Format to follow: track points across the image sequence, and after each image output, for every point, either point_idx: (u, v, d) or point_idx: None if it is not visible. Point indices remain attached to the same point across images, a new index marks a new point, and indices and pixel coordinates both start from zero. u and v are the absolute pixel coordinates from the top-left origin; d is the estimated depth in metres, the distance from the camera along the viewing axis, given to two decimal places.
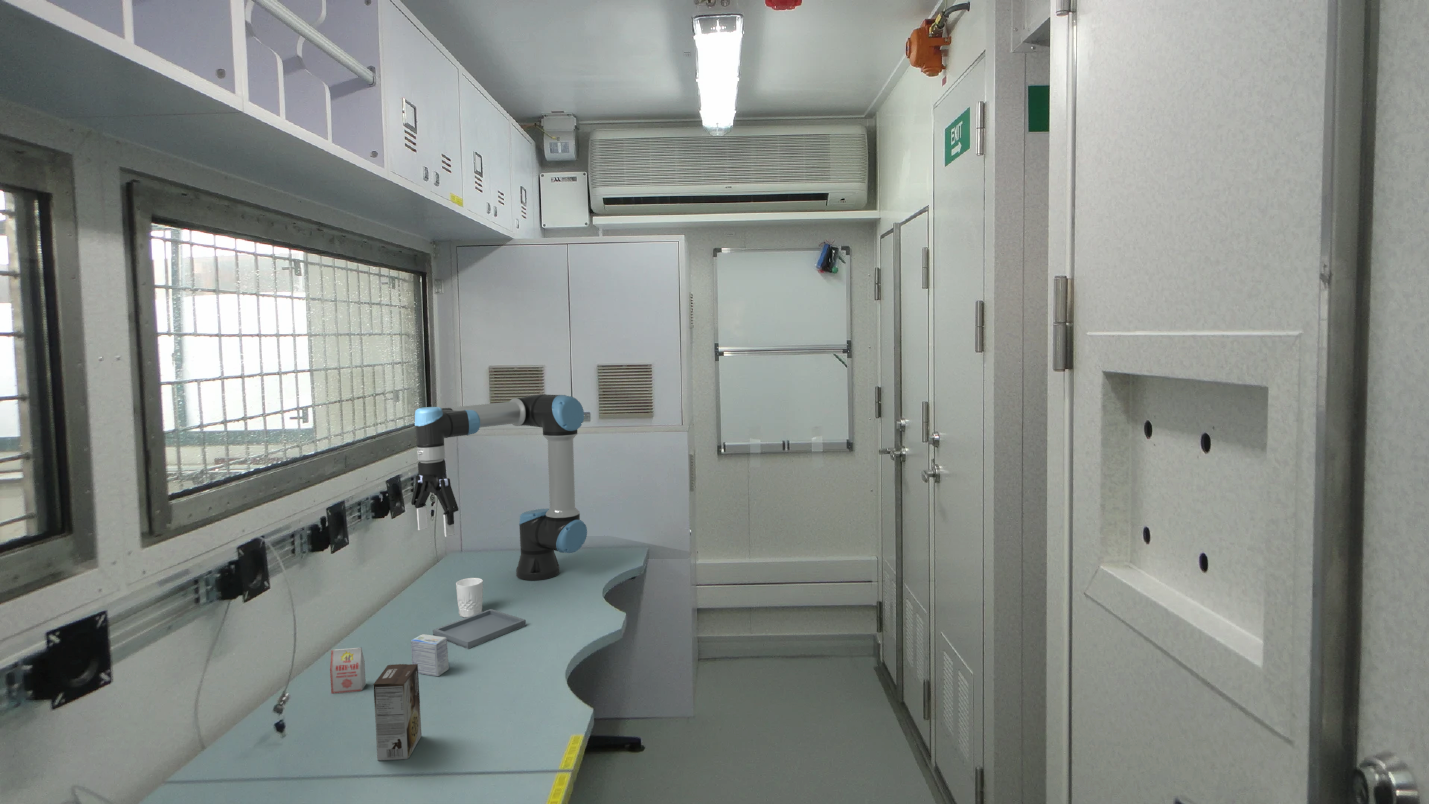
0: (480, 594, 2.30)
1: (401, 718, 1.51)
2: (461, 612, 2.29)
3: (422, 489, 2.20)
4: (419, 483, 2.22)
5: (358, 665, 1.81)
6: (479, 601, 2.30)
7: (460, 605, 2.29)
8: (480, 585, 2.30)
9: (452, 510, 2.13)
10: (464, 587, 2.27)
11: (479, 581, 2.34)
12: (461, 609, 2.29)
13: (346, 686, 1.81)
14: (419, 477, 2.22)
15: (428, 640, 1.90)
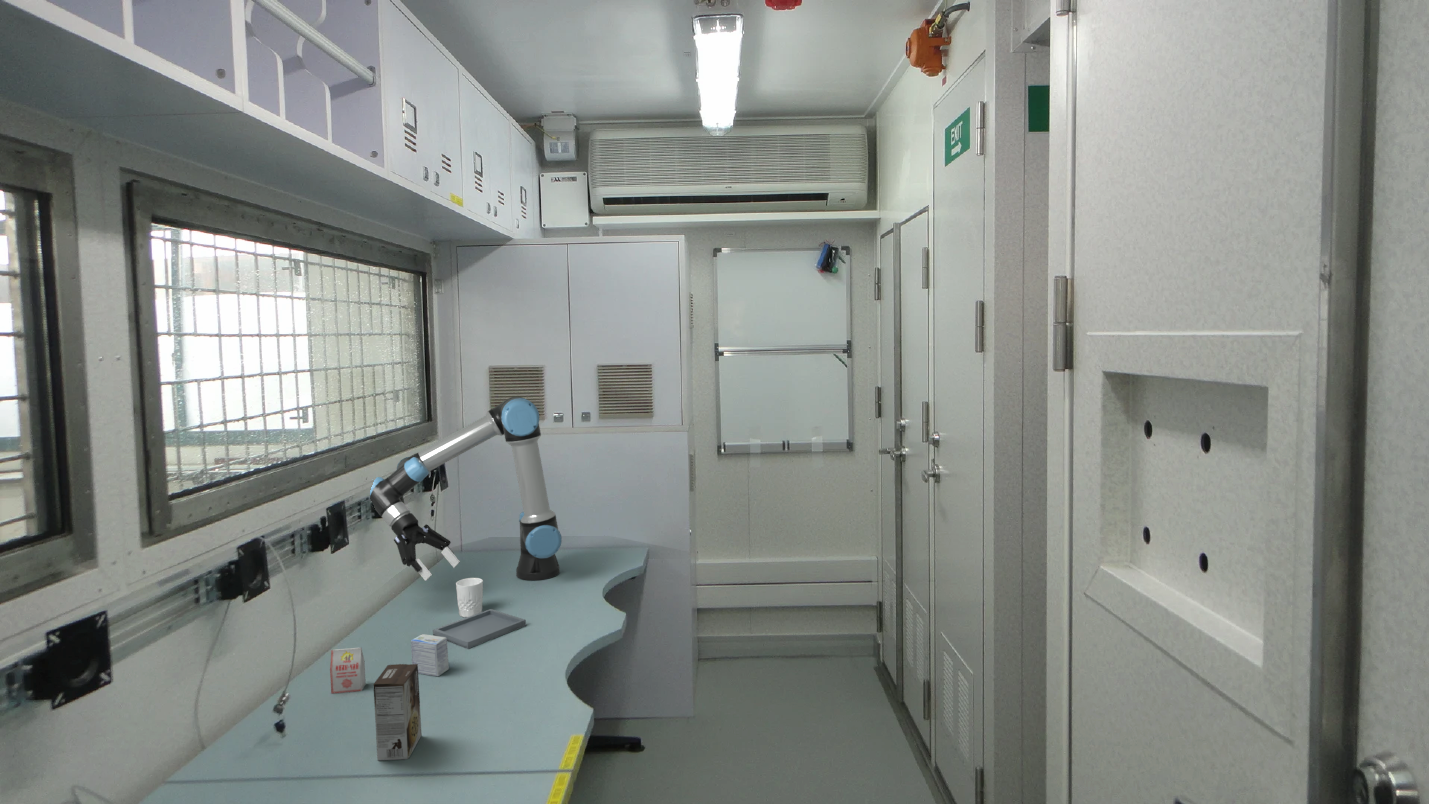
0: (480, 594, 2.30)
1: (401, 718, 1.51)
2: (461, 612, 2.29)
3: None
4: None
5: (358, 665, 1.81)
6: (479, 601, 2.30)
7: (460, 605, 2.29)
8: (480, 585, 2.30)
9: (403, 562, 2.25)
10: (464, 587, 2.27)
11: (479, 581, 2.34)
12: (461, 609, 2.29)
13: (346, 686, 1.81)
14: (422, 530, 2.41)
15: (428, 640, 1.90)
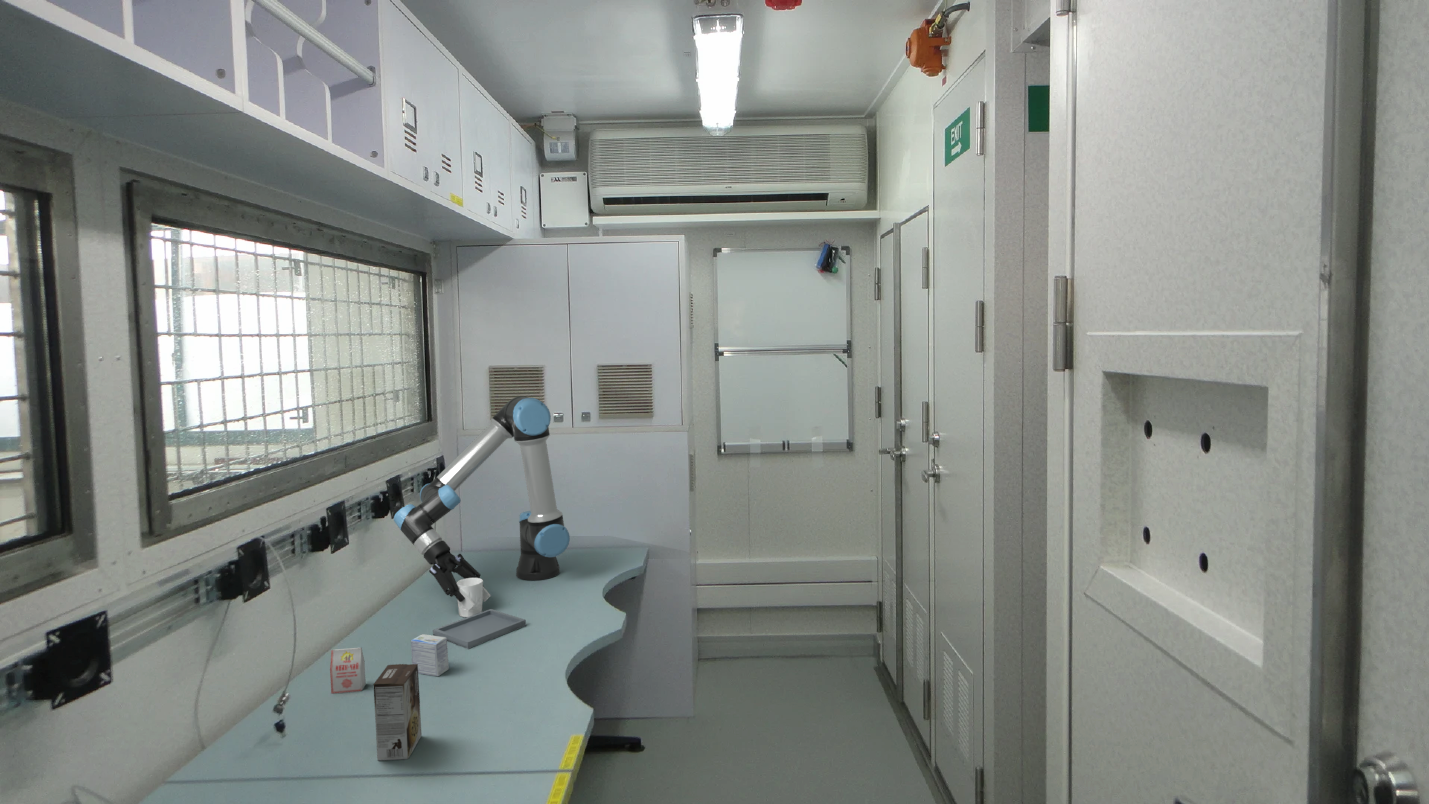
0: (480, 594, 2.30)
1: (401, 718, 1.51)
2: (461, 612, 2.29)
3: None
4: None
5: (358, 665, 1.81)
6: (479, 601, 2.30)
7: (460, 605, 2.29)
8: (480, 585, 2.30)
9: (447, 593, 2.25)
10: (464, 587, 2.27)
11: (479, 581, 2.34)
12: (461, 609, 2.29)
13: (346, 686, 1.81)
14: (455, 558, 2.39)
15: (428, 640, 1.90)
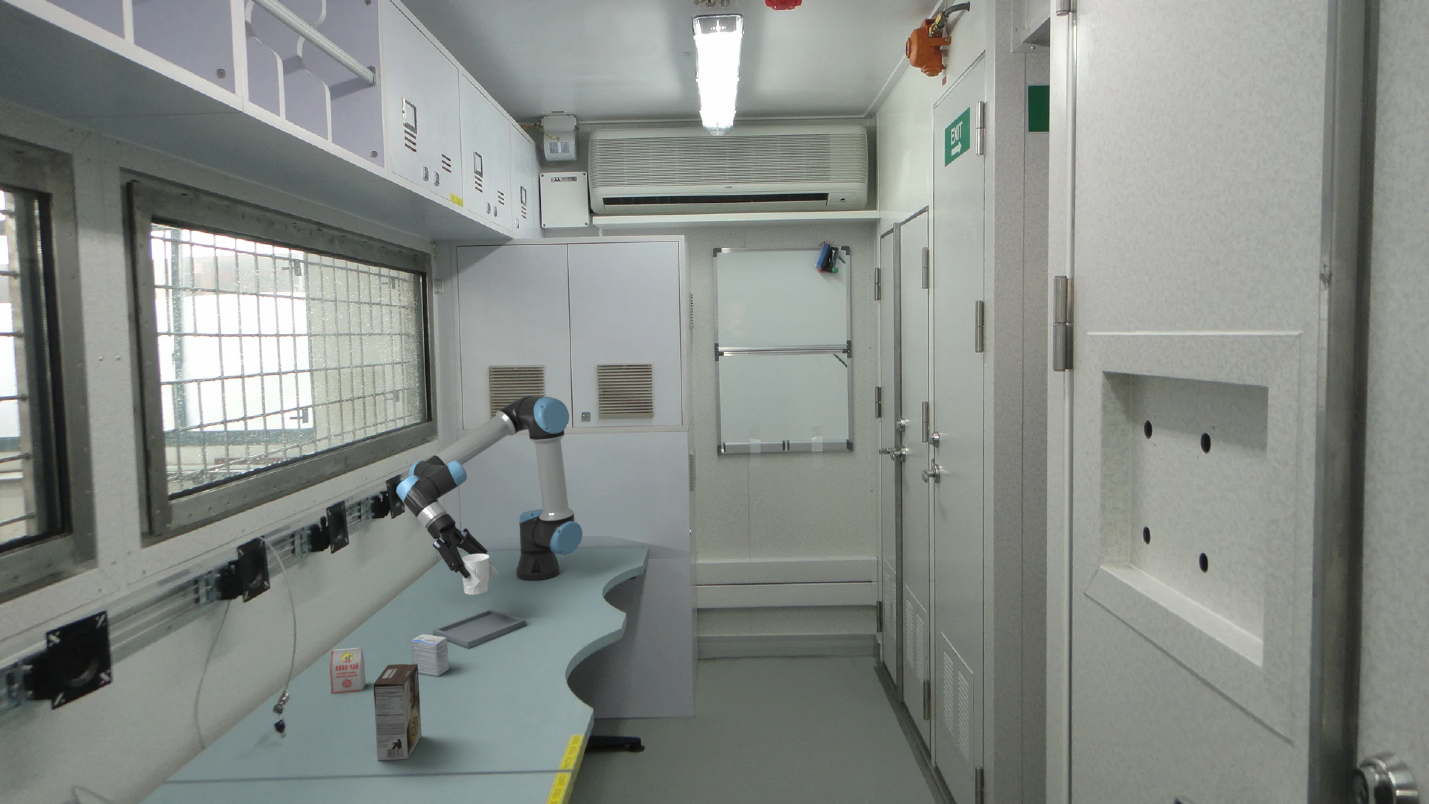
0: (486, 570, 2.17)
1: (401, 718, 1.51)
2: (466, 589, 2.16)
3: None
4: None
5: (358, 665, 1.81)
6: (485, 578, 2.17)
7: (465, 582, 2.16)
8: (486, 561, 2.17)
9: (451, 569, 2.12)
10: (469, 562, 2.14)
11: (485, 557, 2.21)
12: (466, 586, 2.16)
13: (346, 686, 1.81)
14: None
15: (428, 640, 1.90)
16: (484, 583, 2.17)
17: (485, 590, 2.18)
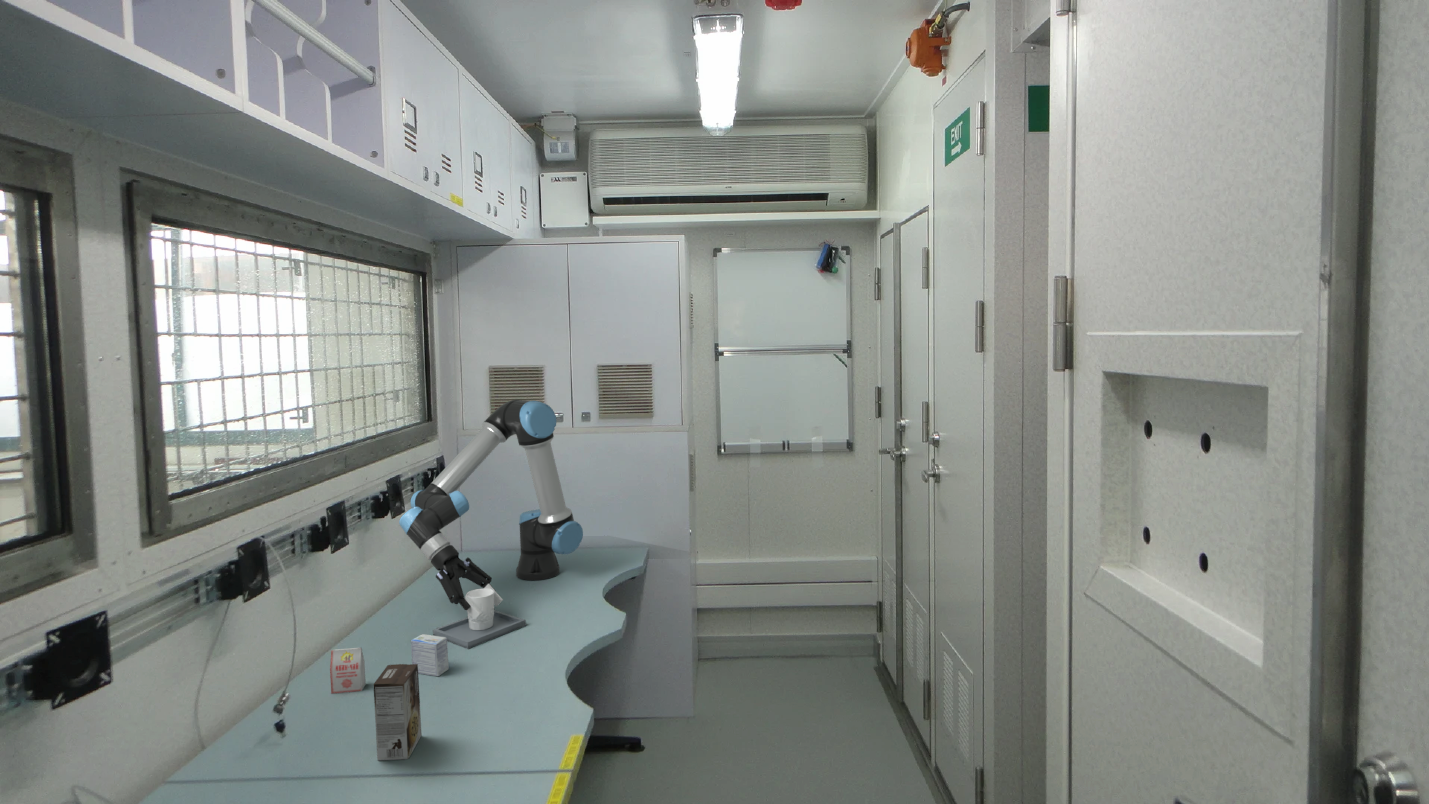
0: (491, 606, 2.18)
1: (401, 718, 1.51)
2: (471, 625, 2.17)
3: None
4: None
5: (358, 665, 1.81)
6: (490, 613, 2.18)
7: (470, 617, 2.17)
8: (491, 596, 2.18)
9: (451, 601, 2.11)
10: (475, 599, 2.15)
11: (490, 592, 2.22)
12: (471, 622, 2.17)
13: (346, 686, 1.81)
14: None
15: (428, 640, 1.90)
16: (489, 618, 2.18)
17: (490, 625, 2.19)
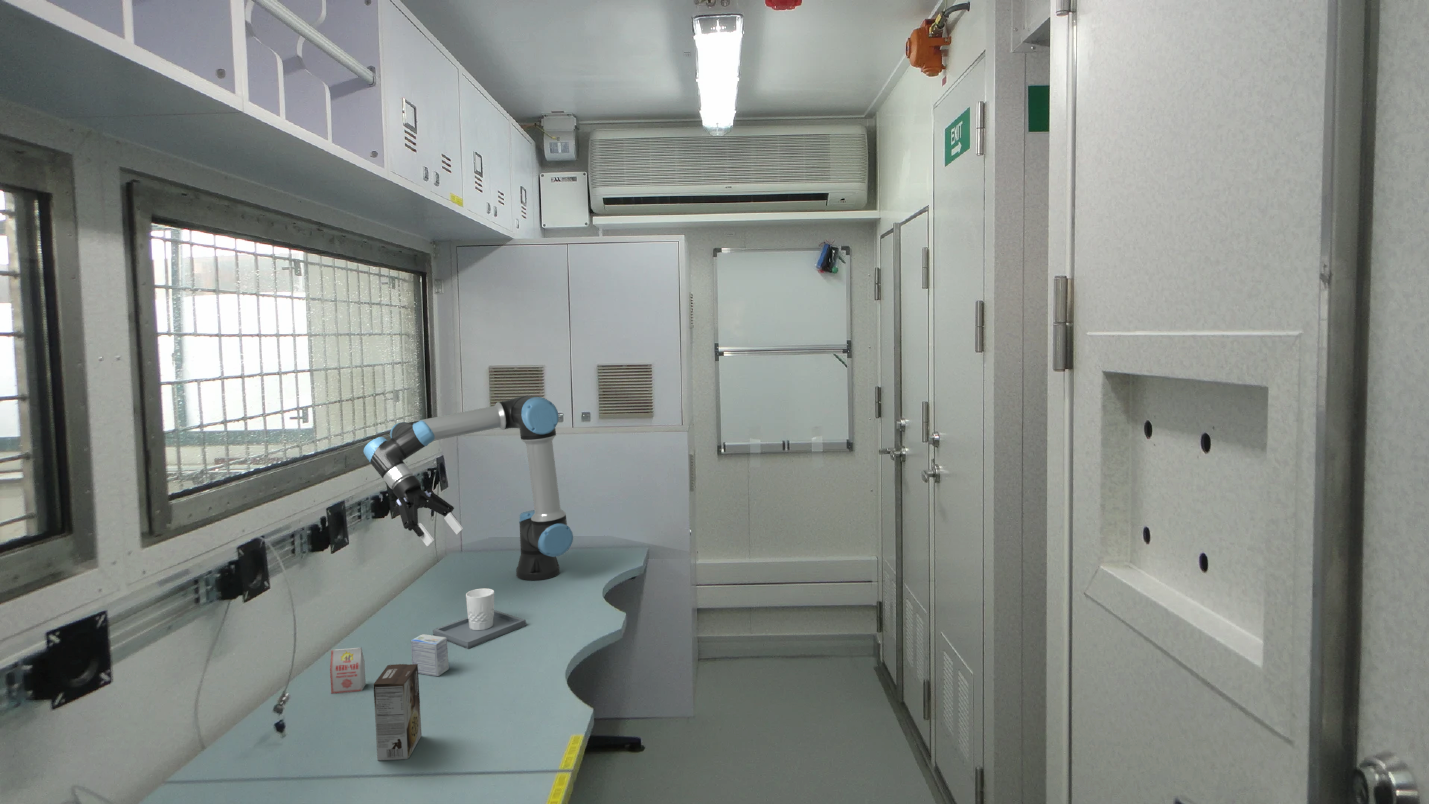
0: (491, 606, 2.18)
1: (401, 718, 1.51)
2: (471, 625, 2.17)
3: None
4: None
5: (358, 665, 1.81)
6: (490, 613, 2.18)
7: (470, 617, 2.17)
8: (491, 596, 2.18)
9: (405, 526, 2.14)
10: (475, 599, 2.15)
11: (490, 592, 2.22)
12: (471, 622, 2.17)
13: (346, 686, 1.81)
14: None
15: (428, 640, 1.90)
16: (489, 618, 2.18)
17: (490, 625, 2.19)
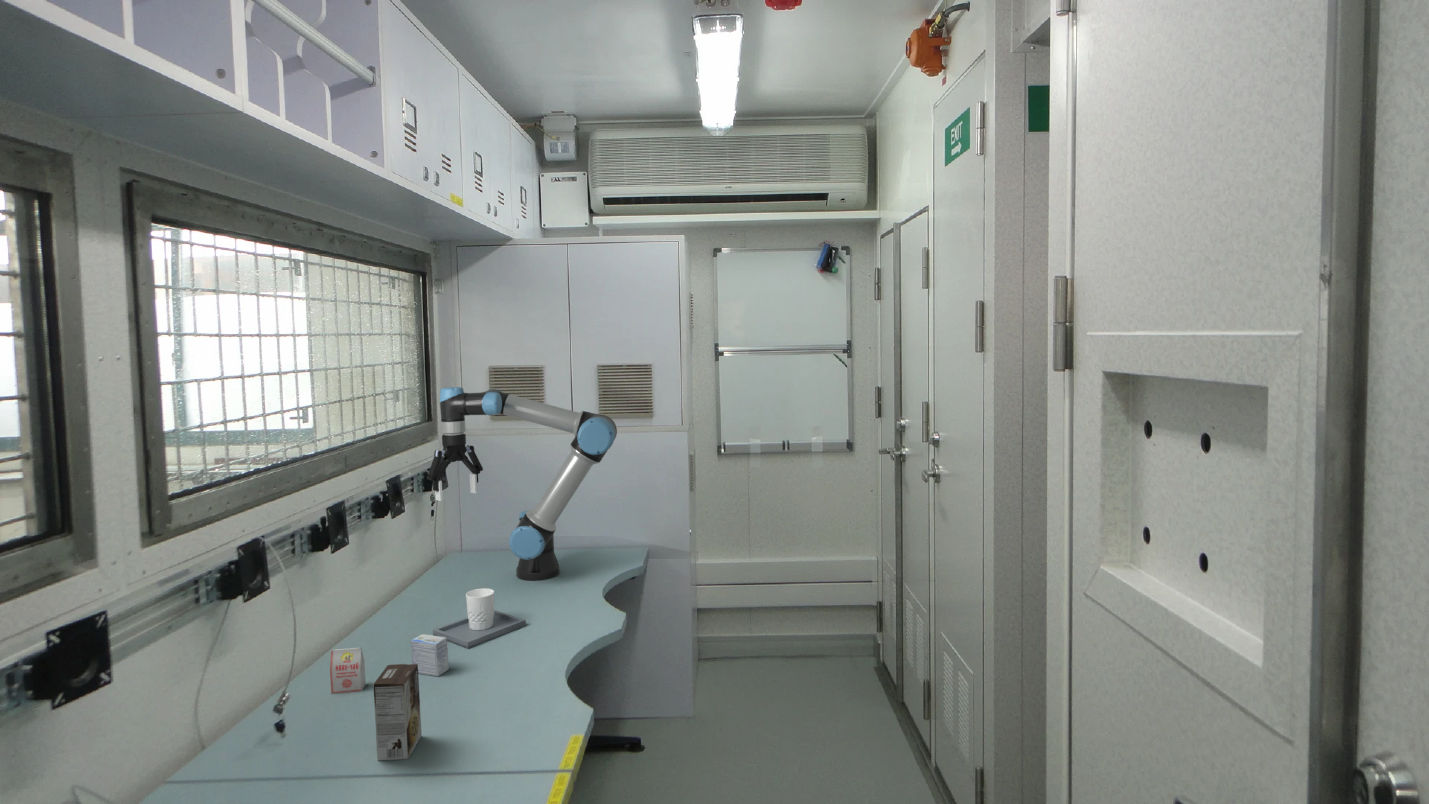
0: (491, 606, 2.18)
1: (401, 718, 1.51)
2: (471, 625, 2.17)
3: None
4: (468, 452, 2.57)
5: (358, 665, 1.81)
6: (490, 613, 2.18)
7: (470, 617, 2.17)
8: (491, 596, 2.18)
9: (427, 478, 2.45)
10: (475, 599, 2.15)
11: (490, 592, 2.22)
12: (471, 622, 2.17)
13: (346, 686, 1.81)
14: (467, 447, 2.57)
15: (428, 640, 1.90)
16: (489, 618, 2.18)
17: (490, 625, 2.19)
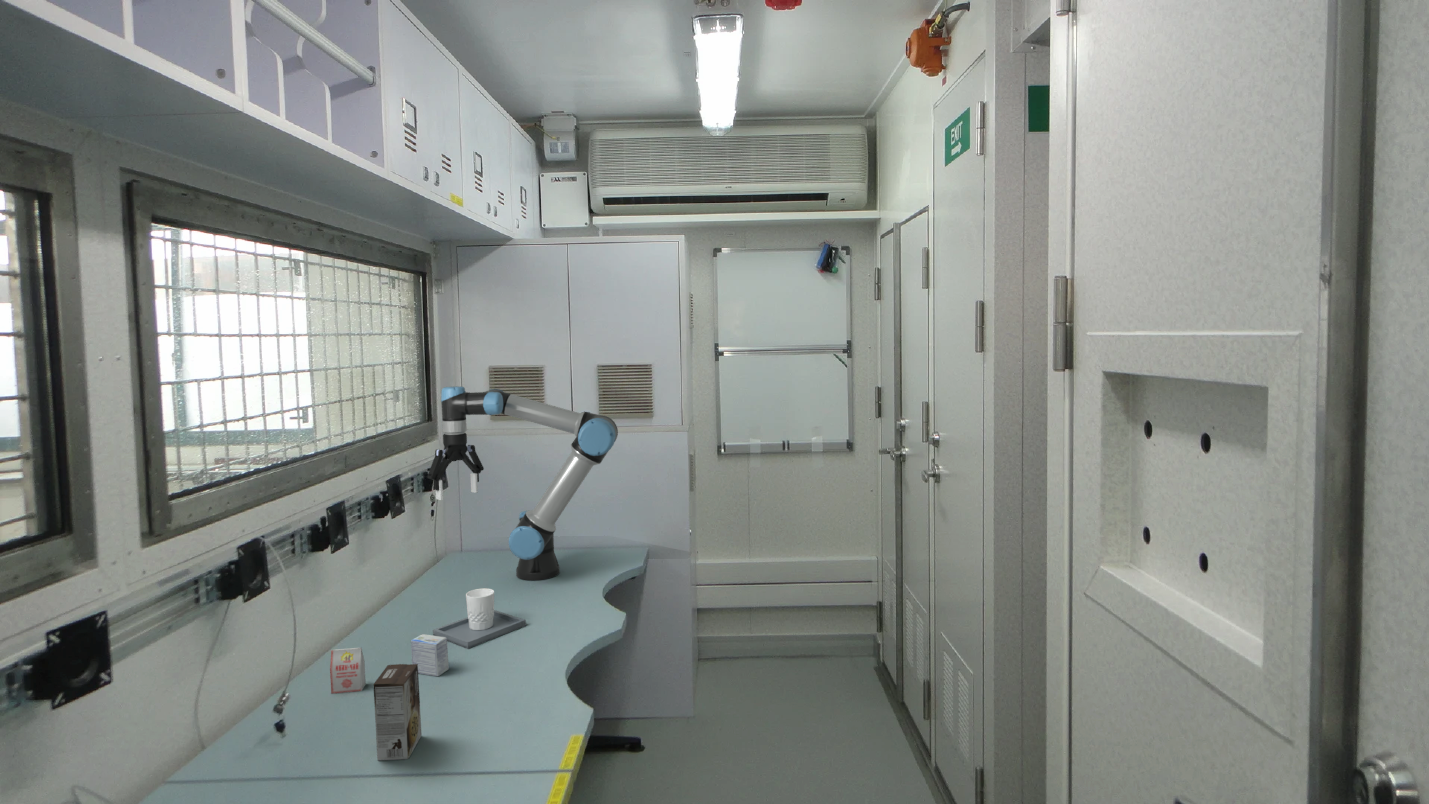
0: (491, 606, 2.18)
1: (401, 718, 1.51)
2: (471, 625, 2.17)
3: None
4: (469, 451, 2.57)
5: (358, 665, 1.81)
6: (490, 613, 2.18)
7: (470, 617, 2.17)
8: (491, 596, 2.18)
9: (428, 477, 2.45)
10: (475, 599, 2.15)
11: (490, 592, 2.22)
12: (471, 622, 2.17)
13: (346, 686, 1.81)
14: None
15: (428, 640, 1.90)
16: (489, 618, 2.18)
17: (490, 625, 2.19)
